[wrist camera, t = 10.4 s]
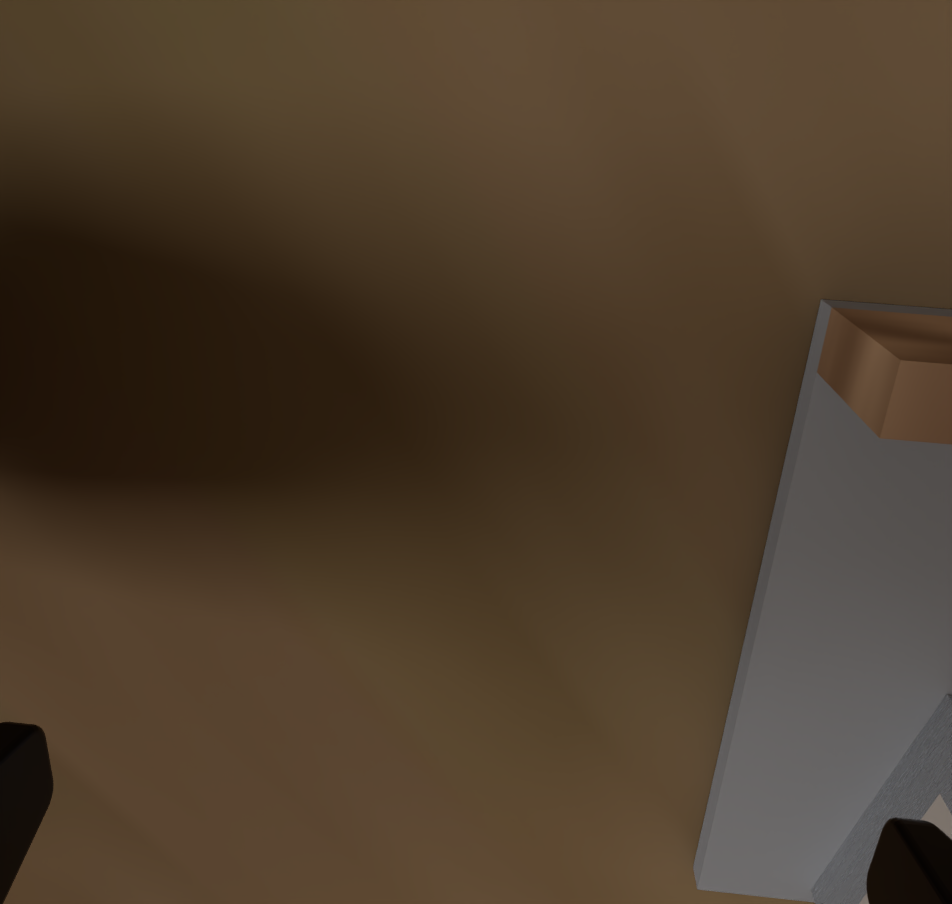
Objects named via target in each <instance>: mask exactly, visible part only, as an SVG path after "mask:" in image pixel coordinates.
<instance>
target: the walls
mask: <svg viewBox="0 0 952 904" xmlns="http://www.w3.org/2000/svg"><path fill="white" fill-rule="evenodd" d="M817 373H818V374H819V375H820V376H821V377H822V378H823V379H824V380H825V381H826V383H827V384H828V385H829V386H830V387H831V388H832V389H833V390H834V391H835V392H836V393H837V394H838V395H839V396H840V397H841V398H842V399H843V400H844V401H845V403H846V404H847V405H848V406H849V407H850V408H851V409H852V410H853V411H854V412H855V413H856V414H857V415H858V416H859V417H860V418H861V419H862V420H863V421H864V422H865V424H866V425H867V426H868V427H869V428H870V429H871V430H872V431H873V432H874V433H875V434H876V435H877V436H878V437H879V438H881V439H892V440H904V441H916V442H928V443H939V444H951V445H952V317H948V316H936V315H923V314H910V313H897V312H884V311H871V310H859V309H846V308H833V307H832V308H831V313H830V317H829V321H828V326H827V330H826V334H825V339H824V343H823V347H822V352H821V356H820V360H819V365H818V369H817Z"/></svg>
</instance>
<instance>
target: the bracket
mask: <svg viewBox="0 0 952 904" xmlns="http://www.w3.org/2000/svg"><path fill="white" fill-rule="evenodd" d="M895 817H898V818H907V819H916V820H925V821H928V822H931V823H933V824H934V825H936V826H937V827H938V828H939V829H941V830H942V831H943V832H944V833H945V834H946V835H947V836H948V837H950V838H951V839H952V695H950V694H946V695H945V696H944V698H943V699H942V701H941V702H940V703H939V705H938V706H937V708H936V709H935V711H934V712H933V714H932V715H931V716H930V718H929V719H928V721H927V722H926V724H925V725H924V727H923V728H922V729H921V731H920V732H919V734H918V735H917V737H916V738H915V740H914V741H913V742H912V744H911V745H910V747H909V748H908V750H907V751H906V753H905V754H904V755H903V757H902V758H901V760H900V761H899V763H898V764H897V766H896V767H895V768H894V770H893V771H892V773H891V774H890V776H889V777H888V779H887V780H886V781H885V783H884V784H883V786H882V787H881V789H880V790H879V792H878V793H877V794H876V796H875V797H874V799H873V800H872V802H871V803H870V805H869V806H868V807H867V809H866V810H865V812H864V813H863V815H862V816H861V818H860V819H859V820H858V822H857V823H856V825H855V826H854V828H853V829H852V831H851V832H850V833H849V835H848V836H847V838H846V839H845V841H844V842H843V844H842V845H841V846H840V848H839V849H838V851H837V852H836V854H835V855H834V857H833V858H832V860H831V861H830V862H829V864H828V865H827V867H826V868H825V870H824V871H823V873H822V874H821V875H820V877H819V878H818V880H817V881H816V883H815V884H814V886H813V887H812V888H811V892H812V895H813V898H814V901H815V904H869V902H868V897H867V888H866V881H867V874H868V870H869V867H870V864H871V861H872V858H873V855H874V852H875V849H876V846H877V843H878V840H879V837H880V834H881V831H882V829H883V826H884V824H885V823H886V822H887V821H888V820H889V819H890V818H895Z"/></svg>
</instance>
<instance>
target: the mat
mask: <svg viewBox="0 0 952 904" xmlns="http://www.w3.org/2000/svg"><path fill="white" fill-rule="evenodd" d="M832 307H833V308H846V309H859V310H871V311H884V312H897V313H910V314H923V315H936V316H948V317H952V309H941V308H928V307H915V306H902V305H889V304H876V303H863V302H851V301H838V300H825V299H821V302H820V306H819V310H818V315H817V319H816V324H815V328H814V333H813V337H812V342H811V346H810V351H809V355H808V359H807V364H806V368H805V373H804V377H803V382H802V386H801V391H800V395H799V399H798V404H797V408H796V413H795V417H794V422H793V426H792V431H791V435H790V439H789V444H788V448H787V453H786V457H785V462H784V466H783V471H782V475H781V479H780V484H779V488H778V493H777V497H776V502H775V506H774V511H773V515H772V519H771V524H770V528H769V533H768V537H767V542H766V546H765V551H764V555H763V559H762V564H761V568H760V573H759V577H758V582H757V586H756V591H755V595H754V599H753V604H752V608H751V613H750V617H749V622H748V626H747V631H746V635H745V639H744V644H743V648H742V653H741V657H740V662H739V666H738V671H737V675H736V679H735V684H734V688H733V693H732V697H731V702H730V706H729V711H728V715H727V719H726V724H725V728H724V733H723V737H722V742H721V746H720V751H719V755H718V759H717V764H716V768H715V773H714V777H713V782H712V786H711V791H710V795H709V799H708V804H707V808H706V813H705V817H704V822H703V826H702V831H701V835H700V839H699V844H698V848H697V853H696V857H695V862H694V866H693V869H694V874H695V879H696V885H697V889H699V890H708V891H717V892H726V893H735V894H744V895H753V896H762V897H771V898H780V899H789V900H798V901H807V902H815V901H814V898H813V895H812V892H811V888H812V887H813V886H814V884H815V883H816V881H817V880H818V878H819V877H820V875H821V874H822V873H823V871H824V870H825V868H826V867H827V865H828V864H829V862H830V861H831V860H832V858H833V857H834V855H835V854H836V852H837V851H838V849H839V848H840V846H841V845H842V844H843V842H844V841H845V839H846V838H847V836H848V835H849V833H850V832H851V831H852V829H853V828H854V826H855V825H856V823H857V822H858V820H859V819H860V818H861V816H862V815H863V813H864V812H865V810H866V809H867V807H868V806H869V805H870V803H871V802H872V800H873V799H874V797H875V796H876V794H877V793H878V792H879V790H880V789H881V787H882V786H883V784H884V783H885V781H886V780H887V779H888V777H889V776H890V774H891V773H892V771H893V770H894V768H895V767H896V766H897V764H898V763H899V761H900V760H901V758H902V757H903V755H904V754H905V753H906V751H907V750H908V748H909V747H910V745H911V744H912V742H913V741H914V740H915V738H916V737H917V735H918V734H919V732H920V731H921V729H922V728H923V727H924V725H925V724H926V722H927V721H928V719H929V718H930V716H931V715H932V714H933V712H934V711H935V709H936V708H937V706H938V705H939V703H940V702H941V701H942V699H943V698H944V696H945V695H946V694H950V695H952V445H951V444H939V443H928V442H916V441H904V440H892V439H881V438H879V437H878V436H877V435H876V434H875V433H874V432H873V431H872V430H871V429H870V428H869V427H868V426H867V425H866V424H865V422H864V421H863V420H862V419H861V418H860V417H859V416H858V415H857V414H856V413H855V412H854V411H853V410H852V409H851V408H850V407H849V406H848V405H847V404H846V403H845V401H844V400H843V399H842V398H841V397H840V396H839V395H838V394H837V393H836V392H835V391H834V390H833V389H832V388H831V387H830V386H829V385H828V384H827V383H826V381H825V380H824V379H823V378H822V377H821V376H820V375H819V374H818V373H817V369H818V365H819V360H820V356H821V352H822V347H823V343H824V339H825V334H826V330H827V326H828V321H829V317H830V313H831V308H832Z"/></svg>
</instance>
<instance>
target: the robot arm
mask: <svg viewBox="0 0 952 904" xmlns="http://www.w3.org/2000/svg"><path fill="white" fill-rule="evenodd" d="M52 793H53V776H52V771H51V765H50V759H49V754H48V748H47V742H46V737H45V733H44V731H43V730H42V729H41V728H40V727H39V726H37V725H33V724H24V723H14V722H2V723H0V904H3V903H4V900H5V898H6V896H7V894H8V892H9V890H10V888H11V886H12V883H13V881H14V879H15V877H16V875H17V873H18V871H19V868H20V866H21V864H22V862H23V860H24V858H25V856H26V854H27V851H28V849H29V847H30V845H31V843H32V841H33V839H34V837H35V834H36V832H37V830H38V828H39V826H40V824H41V822H42V820H43V817H44V815H45V813H46V811H47V809H48V806H49V804H50V801H51V798H52ZM866 888H867V897H868V902H869V904H952V839H951V838H950V837H948V836H947V835H946V834H945V833H944V832H943V831H942V830H941V829H939V828H938V827H937V826H936V825H934V824H933V823H931V822H928V821H925V820H916V819H907V818H898V817H895V818H890V819H889V820H888V821H887V822H886V823H885V824H884V826H883V829H882V831H881V834H880V837H879V840H878V843H877V846H876V849H875V852H874V855H873V858H872V861H871V864H870V867H869V870H868V874H867V881H866Z"/></svg>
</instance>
